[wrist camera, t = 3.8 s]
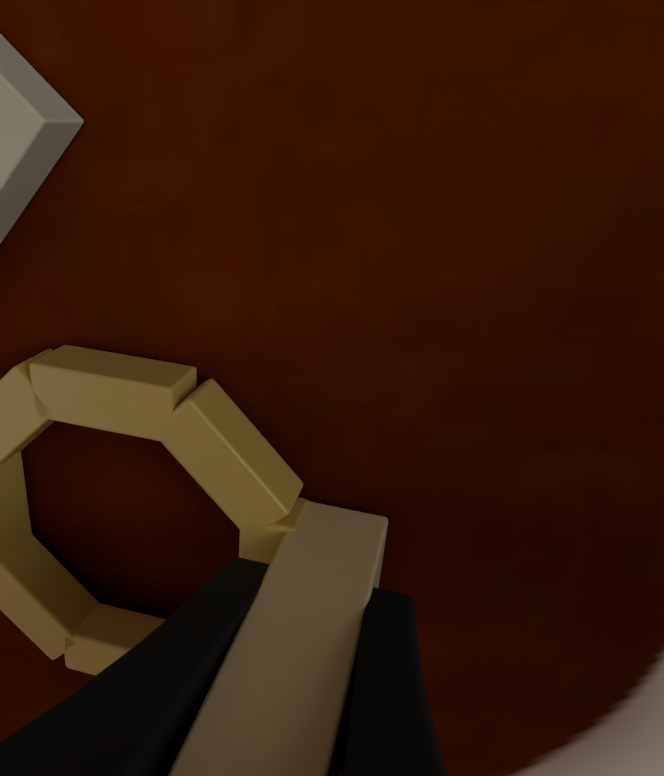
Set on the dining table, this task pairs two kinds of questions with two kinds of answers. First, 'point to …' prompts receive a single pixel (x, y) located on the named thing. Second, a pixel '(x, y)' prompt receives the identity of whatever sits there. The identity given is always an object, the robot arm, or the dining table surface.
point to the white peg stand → (28, 133)
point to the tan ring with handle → (257, 542)
